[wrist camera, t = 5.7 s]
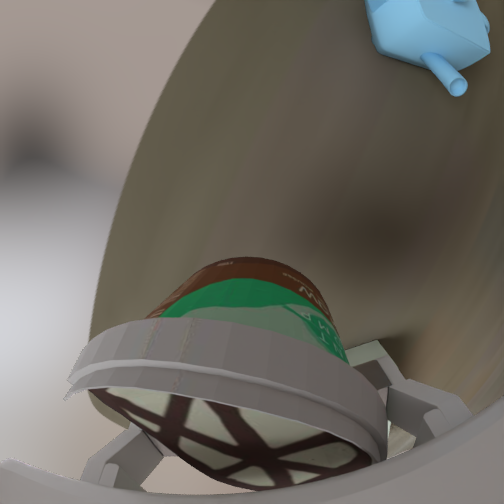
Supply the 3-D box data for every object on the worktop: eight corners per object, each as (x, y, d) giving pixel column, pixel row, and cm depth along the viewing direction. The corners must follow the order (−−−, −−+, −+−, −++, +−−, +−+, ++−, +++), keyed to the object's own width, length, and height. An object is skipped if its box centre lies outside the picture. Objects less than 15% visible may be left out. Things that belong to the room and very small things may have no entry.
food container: (390, 332, 15) (448, 472, 6) (314, 386, 17) (319, 524, 8) (239, 180, 13) (137, 241, 4) (165, 264, 15) (49, 387, 6)
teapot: (456, 120, 21) (530, 114, 11) (331, 92, 20) (392, 49, 10) (428, -13, 16) (476, -45, 6) (315, -48, 15) (342, -106, 5)
